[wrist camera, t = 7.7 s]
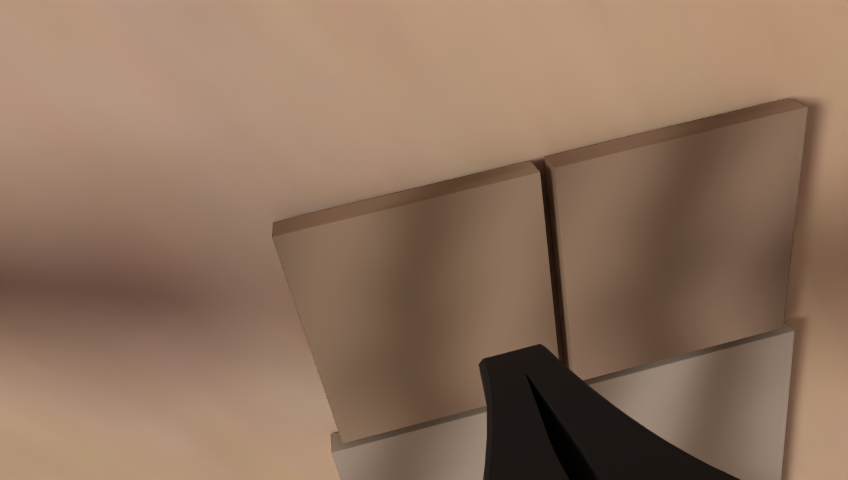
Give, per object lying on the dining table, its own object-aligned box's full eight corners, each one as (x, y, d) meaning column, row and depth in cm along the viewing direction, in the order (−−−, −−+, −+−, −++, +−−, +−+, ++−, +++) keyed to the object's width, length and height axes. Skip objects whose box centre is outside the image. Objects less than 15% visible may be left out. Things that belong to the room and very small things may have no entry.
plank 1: (530, 160, 21) (540, 172, 21) (552, 369, 26) (561, 385, 25) (273, 222, 21) (272, 237, 20) (341, 424, 25) (342, 443, 24)
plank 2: (787, 98, 22) (807, 106, 21) (767, 313, 26) (783, 327, 26) (544, 156, 21) (554, 167, 21) (564, 366, 26) (573, 382, 25)
